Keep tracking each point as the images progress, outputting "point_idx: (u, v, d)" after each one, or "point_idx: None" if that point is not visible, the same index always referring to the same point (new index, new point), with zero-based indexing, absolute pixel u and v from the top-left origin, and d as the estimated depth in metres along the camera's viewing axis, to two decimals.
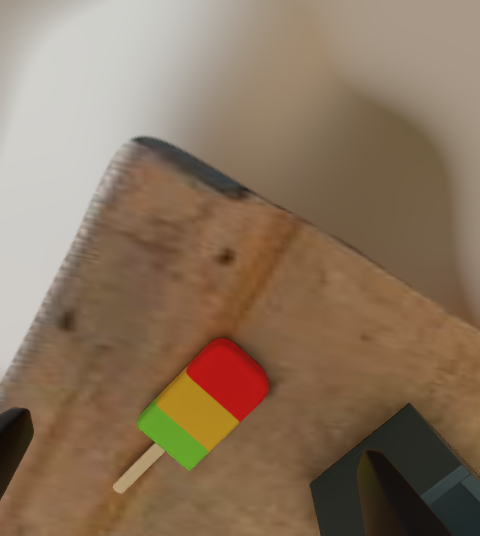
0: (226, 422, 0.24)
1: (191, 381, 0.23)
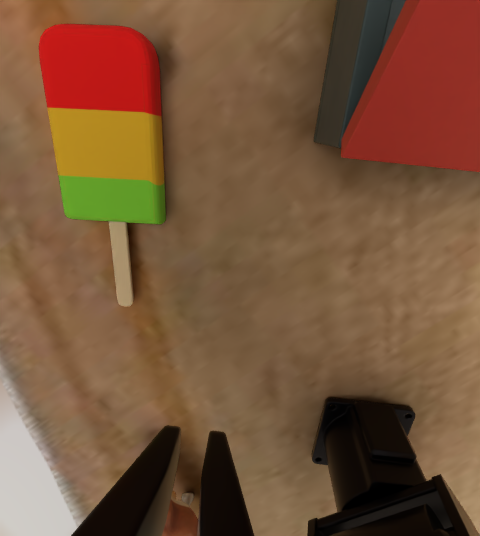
0: (136, 128, 0.16)
1: (59, 110, 0.16)
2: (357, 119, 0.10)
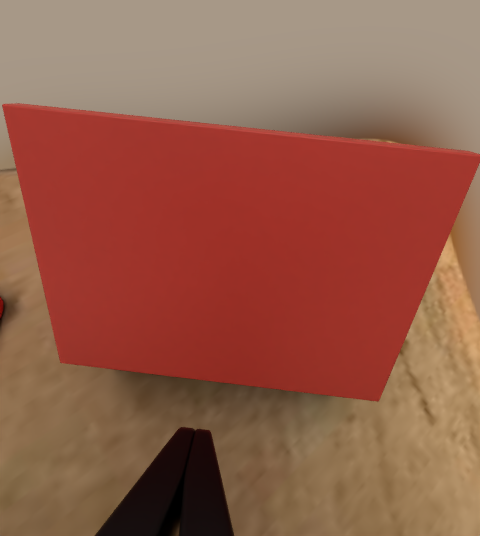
0: None
1: None
2: None
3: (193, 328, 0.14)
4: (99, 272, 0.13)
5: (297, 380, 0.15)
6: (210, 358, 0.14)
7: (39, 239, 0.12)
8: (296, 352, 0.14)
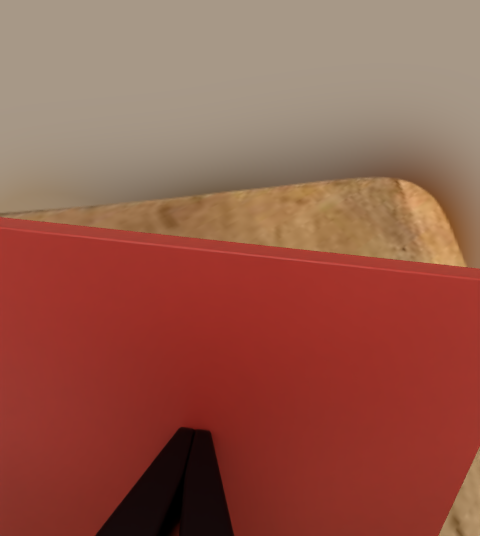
0: None
1: None
2: None
3: None
4: (17, 425, 0.09)
5: None
6: None
7: None
8: (296, 529, 0.10)
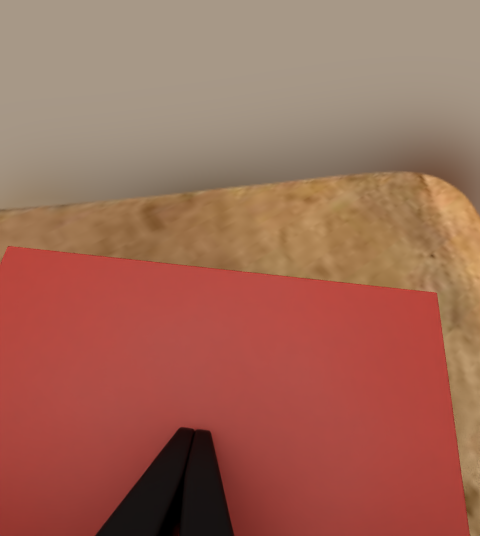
0: None
1: None
2: None
3: None
4: (16, 436, 0.09)
5: None
6: None
7: None
8: None
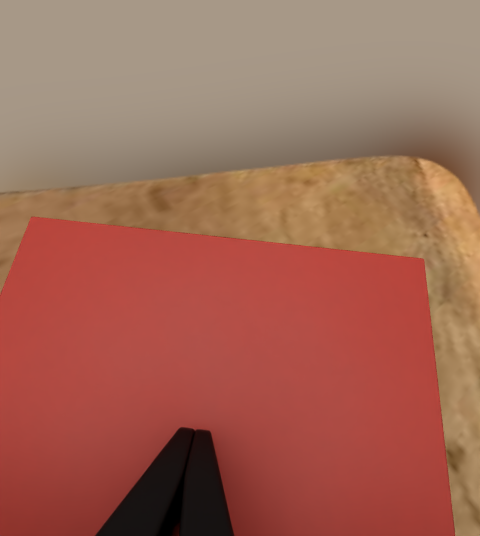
0: None
1: None
2: None
3: None
4: (45, 381, 0.10)
5: None
6: None
7: None
8: (304, 523, 0.09)
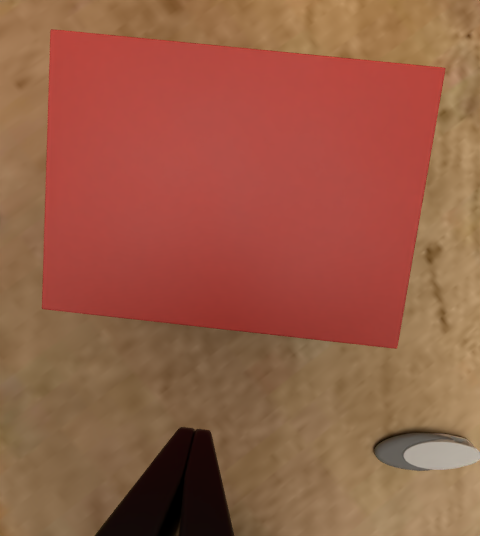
0: None
1: None
2: (44, 268, 0.14)
3: (195, 254, 0.13)
4: (106, 189, 0.13)
5: (305, 321, 0.13)
6: (210, 294, 0.13)
7: (53, 153, 0.13)
8: (303, 282, 0.13)
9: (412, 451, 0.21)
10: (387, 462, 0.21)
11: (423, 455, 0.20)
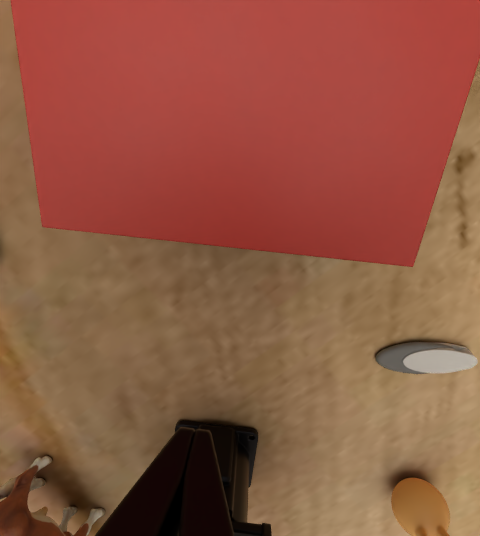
0: None
1: None
2: (38, 183, 0.13)
3: (199, 166, 0.12)
4: (92, 87, 0.11)
5: (318, 239, 0.13)
6: (217, 210, 0.12)
7: (23, 41, 0.11)
8: (318, 197, 0.12)
9: (412, 357, 0.22)
10: (387, 366, 0.22)
11: (422, 361, 0.22)
